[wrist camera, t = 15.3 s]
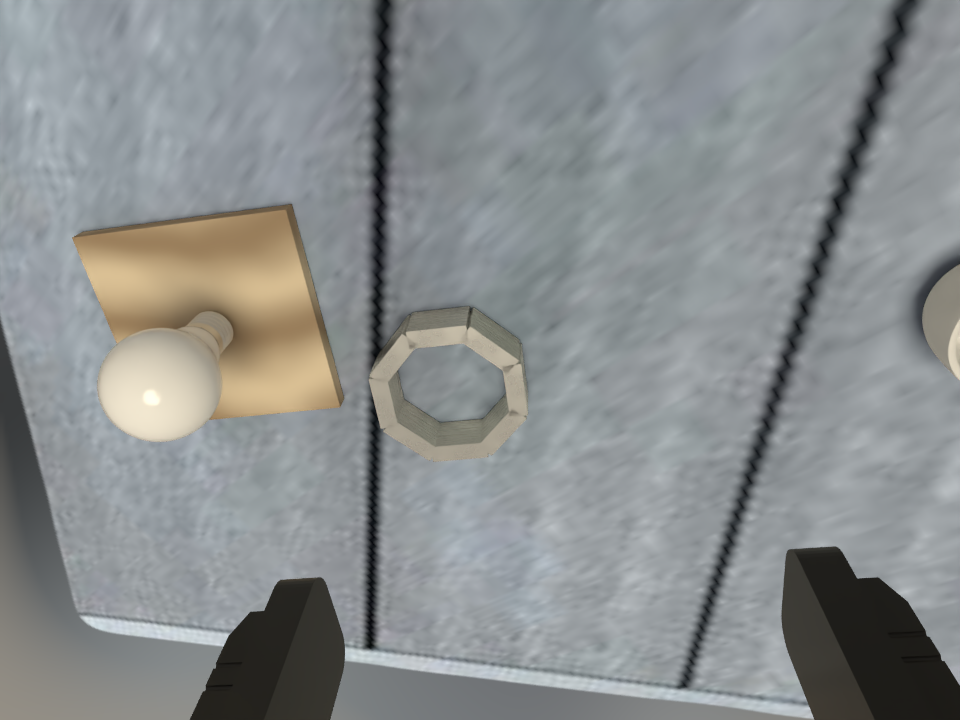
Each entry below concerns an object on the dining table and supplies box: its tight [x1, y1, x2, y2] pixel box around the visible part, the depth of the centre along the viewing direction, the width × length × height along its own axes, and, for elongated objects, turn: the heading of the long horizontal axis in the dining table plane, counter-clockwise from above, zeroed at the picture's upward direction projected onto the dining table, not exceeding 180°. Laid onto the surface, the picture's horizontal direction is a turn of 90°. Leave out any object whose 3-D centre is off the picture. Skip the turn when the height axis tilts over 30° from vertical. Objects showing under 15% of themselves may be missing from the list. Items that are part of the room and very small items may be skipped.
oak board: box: [72, 204, 344, 420], centre depth 47 cm, size 14×14×1 cm
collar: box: [369, 306, 528, 462], centre depth 47 cm, size 10×10×3 cm
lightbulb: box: [97, 311, 233, 442], centre depth 41 cm, size 6×6×11 cm
